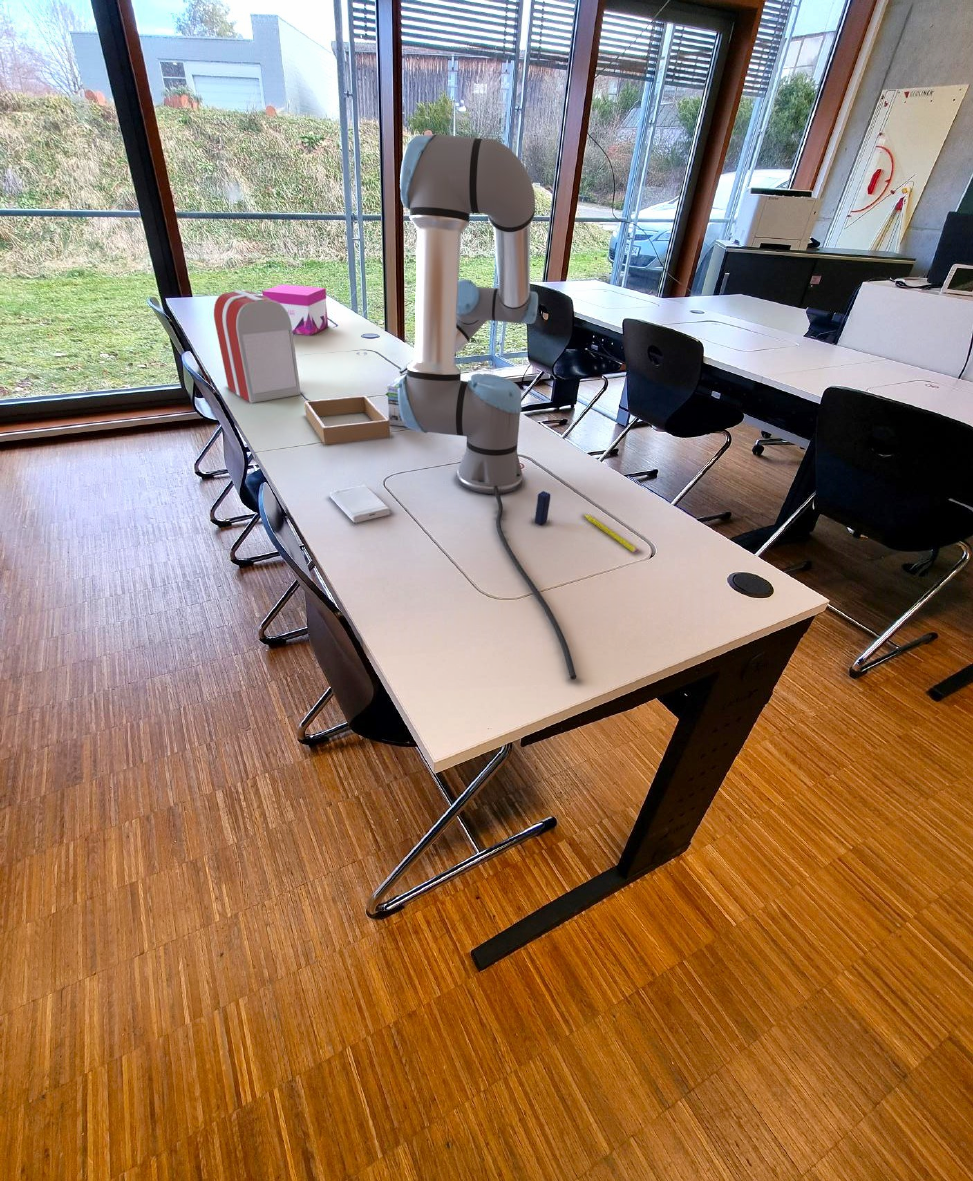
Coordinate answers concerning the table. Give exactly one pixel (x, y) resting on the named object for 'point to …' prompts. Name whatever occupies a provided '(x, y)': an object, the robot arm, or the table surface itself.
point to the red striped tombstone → (256, 346)
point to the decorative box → (302, 306)
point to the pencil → (612, 534)
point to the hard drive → (359, 503)
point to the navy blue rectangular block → (542, 508)
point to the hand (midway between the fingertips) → (396, 404)
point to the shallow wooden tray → (347, 431)
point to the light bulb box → (394, 403)
